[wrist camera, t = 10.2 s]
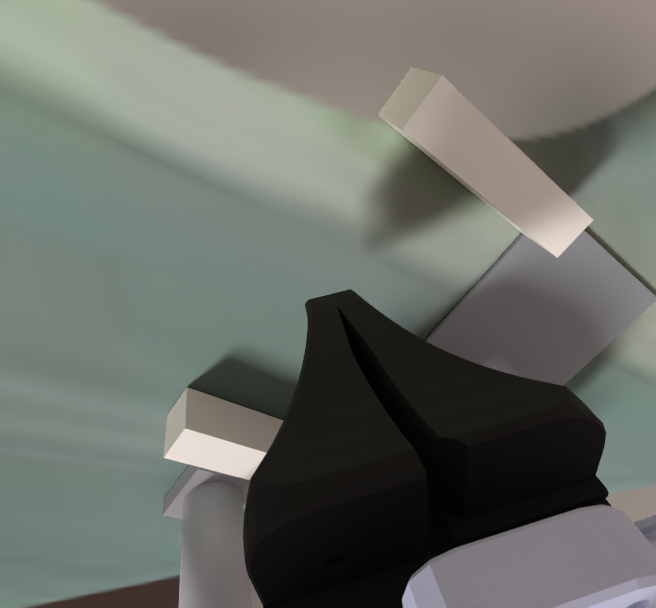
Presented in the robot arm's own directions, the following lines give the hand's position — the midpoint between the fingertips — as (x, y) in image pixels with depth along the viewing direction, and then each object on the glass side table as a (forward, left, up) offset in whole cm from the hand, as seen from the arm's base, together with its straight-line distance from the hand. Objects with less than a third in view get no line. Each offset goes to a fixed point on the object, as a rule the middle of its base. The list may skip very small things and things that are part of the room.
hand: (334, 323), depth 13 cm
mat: (+10, +1, -3) cm, 10 cm away
